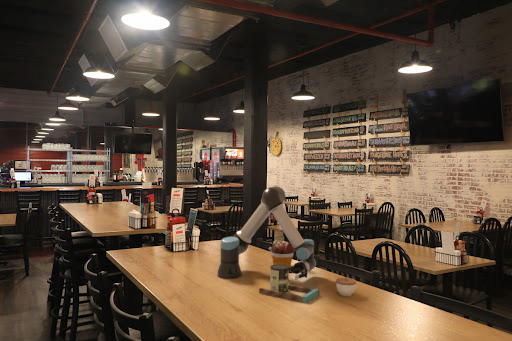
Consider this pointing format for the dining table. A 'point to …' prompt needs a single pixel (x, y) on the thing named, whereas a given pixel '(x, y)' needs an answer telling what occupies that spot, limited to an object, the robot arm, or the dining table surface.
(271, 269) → the coffee can
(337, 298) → the dining table surface
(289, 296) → the guide rails
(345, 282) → the lidded jar
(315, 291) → the bar
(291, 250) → the bucket of meat
